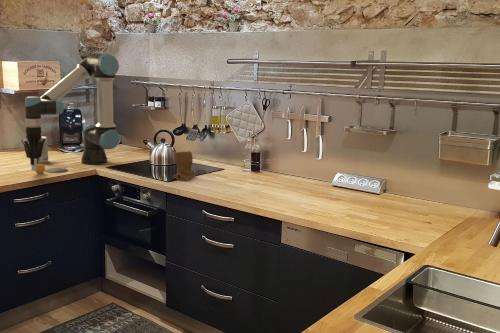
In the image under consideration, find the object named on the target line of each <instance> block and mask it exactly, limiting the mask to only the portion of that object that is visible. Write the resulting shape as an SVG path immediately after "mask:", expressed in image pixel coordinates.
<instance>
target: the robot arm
mask: <svg viewBox="0 0 500 333" xmlns="http://www.w3.org/2000/svg"><path fill="white" fill-rule="evenodd" d="M119 68H120V64H119V61H118V59H117V58H116V56H114V55H113V54H110V53H92V54H90V55H88V56H87V57H85V58H84V59H83V60H82V61H80V62H79V63H78V64H77V65H76V68H75V69H73V70H72V71H71V72H69V73H68V74H66V76H65V77H63V78H62V79H61V80H60V81H59V82H57V83H56V84H55V85H54V86H52V87H51V88H50V89H49V90H47V91H45V93H43V94H42V95H41V96H26V97H25V98H24V100H25V101H24V112H25V126H26V127H25V135H26V136H25V139H24V140H21V143H22V145H23V147H24V152H25V156H26V158H27V159H29V161H30V166H31V171H32V172H35V171H37V164H39V163H38V159H39V158H40V157H41V155H42V150H43V145H44V142H45V139H43V138H41V136H42V135H41V134H42V116H46V115H47V116H50V115H53V116H54V115H55V116H57V115H58V116H59V115H62V114H64V110H65V104H64V103H63V101H62V100H61V99H62V98H64V97H65V96H66V95H68V93H69V92H71V91H72V90H73V89H75V88H76V87H78V85H80V84H81V83H82V82H83V81H85V80H86V79H89V78H91V77H92V76H93V78H94V79H95V80H96V90H97V93H96V94H97V99H96V100H97V123H96V124H85V125H84V126H83V153H82V156H81V159H80V162H81V163H82V164H83V165H104V164H107V163H108V157H107V154H106V151H105V150H112V149H115V148H117V146H118V145H119V143H120V141H121V138H120V136H121V135H120V134H119V132H118V131H117V125H116V124H115V123H114V91H113V90H114V85H113V84H114V80H115V79H116V74H117V73H118V71H119Z"/></svg>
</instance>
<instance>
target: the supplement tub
mask: <svg viewBox="0 0 500 333" xmlns="http://www.w3.org/2000/svg"><path fill="white" fill-rule="evenodd" d="M41 138H43V139H45V142H44V145H43V150H42V155H41V157H40V158H39V159H38V164H42V163H47V162H48V161H49V146H48V144H49V143H48V137H47V136H43V135H41Z"/></svg>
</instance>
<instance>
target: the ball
mask: <svg viewBox="0 0 500 333" xmlns="http://www.w3.org/2000/svg"><path fill="white" fill-rule="evenodd" d="M45 170H46V166H45V165H44V164H42V163H38V164H37V171H34V172H35V173H36V174H38V175H41V174H44V173H45Z"/></svg>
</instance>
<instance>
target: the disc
mask: <svg viewBox="0 0 500 333" xmlns="http://www.w3.org/2000/svg"><path fill="white" fill-rule="evenodd" d="M68 171H69V169H67V168H64V167H54V168H53V167H52V168H51V167H50V168H47V169H46V168H45V171H44V173H45V172H46V173H48V174H49V173H50V174H58V173H59V174H61V173H65V172H68Z"/></svg>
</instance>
